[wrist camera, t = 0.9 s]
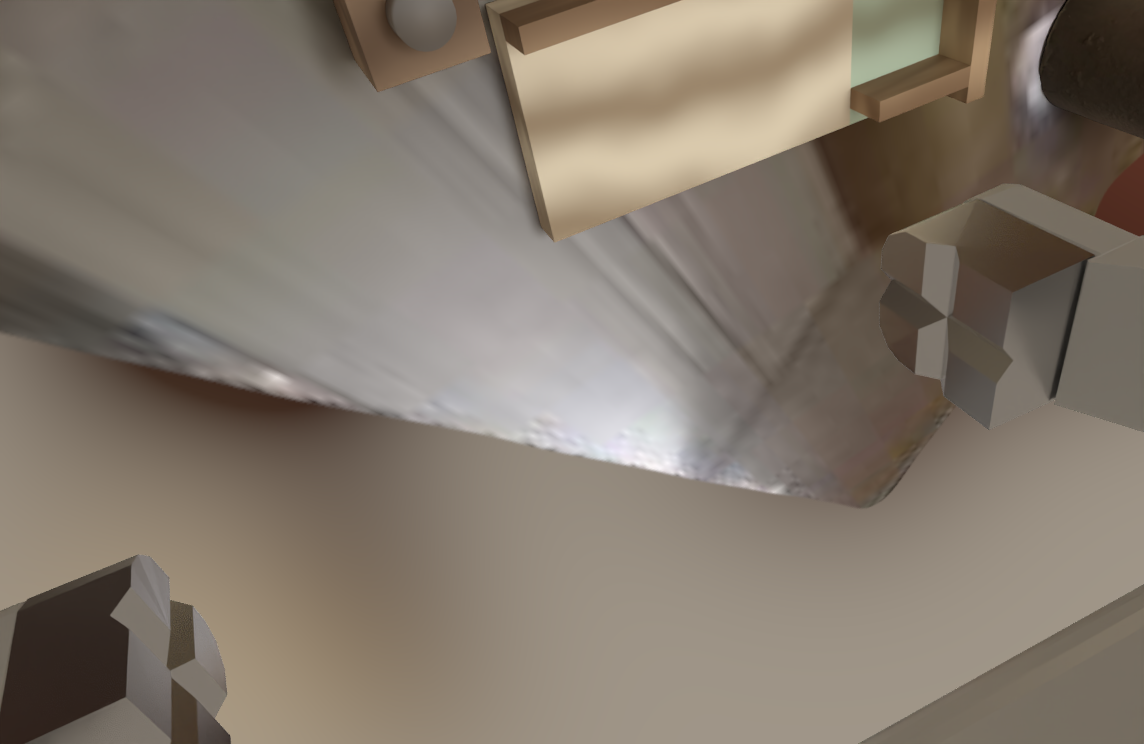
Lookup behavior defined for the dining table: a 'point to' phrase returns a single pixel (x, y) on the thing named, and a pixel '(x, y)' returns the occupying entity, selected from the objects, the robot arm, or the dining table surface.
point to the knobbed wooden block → (411, 36)
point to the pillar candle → (1098, 62)
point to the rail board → (711, 86)
